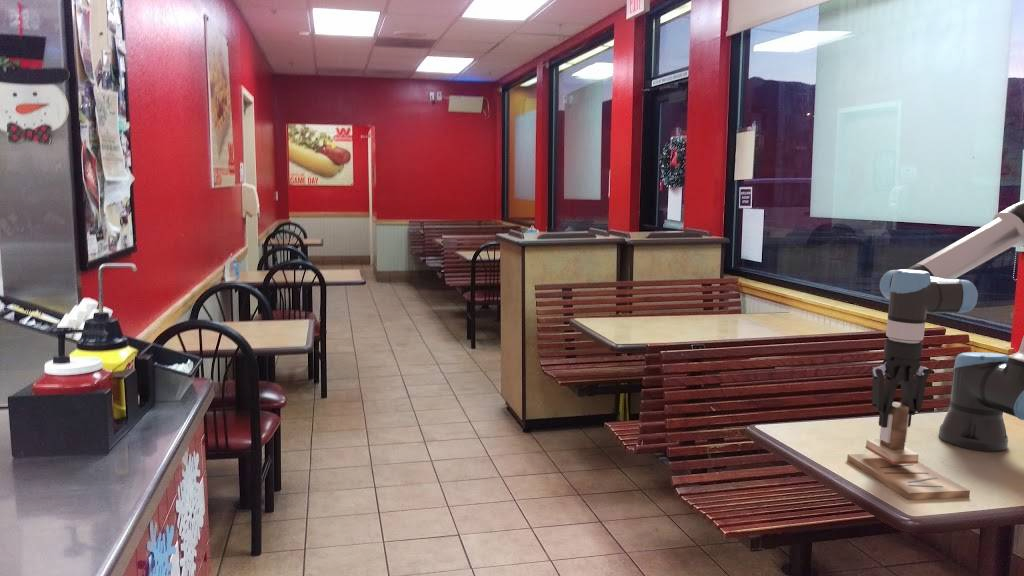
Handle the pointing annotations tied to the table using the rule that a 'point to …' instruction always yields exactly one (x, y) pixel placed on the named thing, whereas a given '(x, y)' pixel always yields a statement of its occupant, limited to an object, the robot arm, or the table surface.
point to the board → (909, 478)
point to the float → (895, 439)
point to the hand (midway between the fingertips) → (892, 440)
